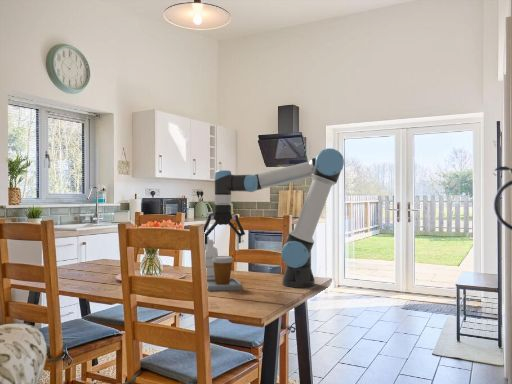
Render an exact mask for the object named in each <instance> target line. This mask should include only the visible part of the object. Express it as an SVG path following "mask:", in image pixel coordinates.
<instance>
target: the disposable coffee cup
mask: <svg viewBox="0 0 512 384" xmlns="http://www.w3.org/2000/svg"><path fill="white" fill-rule="evenodd" d="M212 261H213V265H214V274H215V283H216V284H218V285H227V284H229V282H230V278H231V274H232V268H233V267H232V265H233V261H234V259H233V257H232V256H230V255H229V256H228V255H218V256H215V257H213V260H212Z"/></svg>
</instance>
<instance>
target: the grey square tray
mask: <svg viewBox="0 0 512 384" xmlns="http://www.w3.org/2000/svg"><path fill="white" fill-rule="evenodd" d="M207 286H208V290H207V291H208V292H213V291H214V292H217V291H238V290H239V291H240V290H243V289H242V287H243V285H242V283H241V282H240V281H239V280H238V279H237V278H236V277H235V278H234V277H232V278H231V277H230V282H229V284H227V285H218V284H216V283H215V279H207Z"/></svg>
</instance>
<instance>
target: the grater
mask: <svg viewBox="0 0 512 384" xmlns="http://www.w3.org/2000/svg"><path fill="white" fill-rule="evenodd" d="M205 250H206V268H207V279H215V274H214V265H213V261H212V260H213V257H215V256H219V255H218V254H219V253H218V248H217V247H215V246H214V239H212V238H209V252H207V244H205Z"/></svg>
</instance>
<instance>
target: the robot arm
mask: <svg viewBox="0 0 512 384" xmlns="http://www.w3.org/2000/svg"><path fill="white" fill-rule="evenodd" d="M344 165H345V159H344V156H343V155H342V153H341V152H340V151H339V150H337V149H335V148H325V149H322V150H320V152H318V154H317V155H316V157H313V158H311V159H310V160H309V161H305V162H301V163H297V164H293V165H289V166H285V167H282V168H276V169H273V170H268V171H266V172H265V171H264V172H261V173H256V174H232V171H231V170H216V171H215V172H214V204H215V205H214V215H210V214H208V215H207V217H206V219H207V220H206V221H205V224H204V225H203V227H204V232H205V233H204V234H205V244H207V252H209V239H210V236H209V235H210V234H211V233H212V231H214V229H215V228H216V226H218V225H220V226H222V225H223V226H224V225H225V226H227V225H228V226H229V227H230V228H231V229H232V231H234V233H235V234H236V236H235V251H236V252H239V250H240V248H239V247H240V245H239V244H241V243H242V236H244V235H246V232H245V231H244V228H243V226H242V224H241V222H240V220H239V216H238V214H235V215H234V214H233V215H232V205H231V203H232V192H247V193H254V192H257V191H259V190H264V189H268V188H272V187H276V186H280V185H285V184H289V183H293V182H297V181H302V180H306V179H311V178H312V181H311V184H310V186H309V189H308V192H307V194H306V197H305V200H304V201H303V202H304V203H303V205H302V208H301V210H300V214H299V217H298V219H297V221H296V224H295V227H294V229H292V231H290V232H289V233H288V235H287V237H286V239H285V243H284V245H282V249H281V251H280V253H281V254H280V255H281V259H282V261H283V263H284V264H285V265H286V266H285V267H286V268H285V271H284V274H283V277H282V285H283V286H285V287H290V288H309V287H310V288H311V287H314V286H315V283H316V282H315V281H316V280H315V277H314V274H313V271H312V249H313V246H314V243H315V240H314V238H313V236H314V233H315V231H316V229H317V226H318V223H319V222H320V218H321V215H322V212H323V210H324V207H325V204H326V203H327V202H326V201H327V199H328V196H329V194H330V192H331V188H332V186H334V185H336V184H337V183H338V180H339V177H340V174H341V172H342V170H343V168H344ZM213 219H214V222H213V224H212V225H211V226H210V223H211V221H212V220H213ZM232 219H233V220H234V222H235V223H236V225H237V227H238V229H237V228H236V227H235V225H234V224H233V223H232V221H231V220H232ZM209 226H210V227H209ZM208 227H209V228H208ZM207 229H208V230H207ZM206 230H207V231H206Z"/></svg>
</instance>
